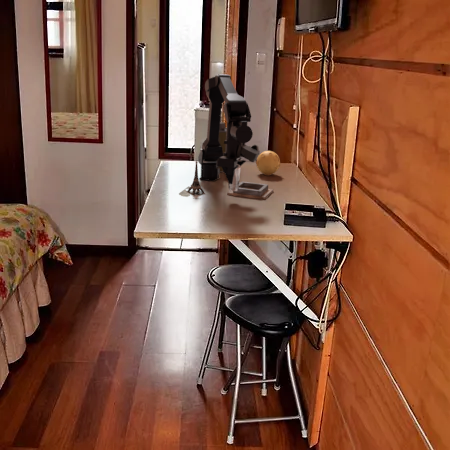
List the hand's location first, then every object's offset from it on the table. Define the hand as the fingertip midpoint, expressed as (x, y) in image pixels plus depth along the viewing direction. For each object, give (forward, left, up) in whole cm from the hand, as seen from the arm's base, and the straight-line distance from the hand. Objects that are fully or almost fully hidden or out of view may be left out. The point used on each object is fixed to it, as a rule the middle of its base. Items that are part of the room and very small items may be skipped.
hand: (232, 182), depth 194 cm
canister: (-20, +43, -7) cm, 48 cm away
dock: (+3, +13, -7) cm, 15 cm away
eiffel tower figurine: (-16, +4, -7) cm, 18 cm away
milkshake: (0, 0, -3) cm, 3 cm away
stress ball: (+1, +44, -7) cm, 45 cm away
